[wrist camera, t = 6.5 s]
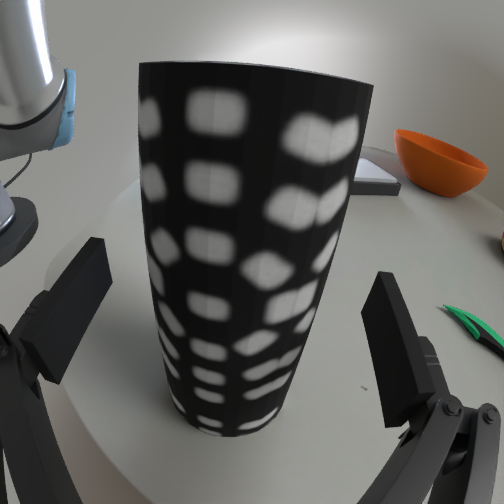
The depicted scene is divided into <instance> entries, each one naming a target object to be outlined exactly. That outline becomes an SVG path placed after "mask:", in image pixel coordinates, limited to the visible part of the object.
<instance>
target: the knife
mask: <svg viewBox="0 0 504 504" xmlns="http://www.w3.org/2000/svg"><path fill="white" fill-rule="evenodd" d="M443 306H445V307H446V308H447V309H448V310H449V311H450V312H452V313H453V314H455V315H456V316H457V317H458V318H459V319H460V320H461V321H462V322H463V323H464V325H465V326H466V327H467V328H468V329H469V331H470V332H471V333H472V334H473V335H474V337H475V338H476V340H477V341H480V342H482V343H483V344H485V345H487V346H488V347H490V348H491V349H493V350H494V351H495V352H497V353H498V354H499V355H501V356H502V357H503V358H504V340H503V339H502V338H501V337H500V336H499V335H498V334H497V333H496V332H495V331H494V330H493V329H492V328H491V327H489V326H488V325H487V324H486V323H485V322H483V321H482V320H480V319H479V318H477V317H475V316H474V315H472V314H470V313H468V312H465V311H463V310H460V309H458V308H455V307H451V306H447V305H443Z"/></svg>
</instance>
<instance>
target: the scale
mask: <svg viewBox="0 0 504 504" xmlns="http://www.w3.org/2000/svg"><path fill="white" fill-rule="evenodd" d="M400 187H401V184H400V183H398V182H397V179H396V178H394V177H393V176H391V175H390V174H388V173H387V172H385V171H384V170H382V169H381V168H379V167H378V166H376V165H375V164H373V163H371V162H370V161H368V160H367V159H360V158H359V161H358V165H357V169H356V174H355V178H354V182H353V186H352V190H351V194H350V195H398V194H399V191H400Z"/></svg>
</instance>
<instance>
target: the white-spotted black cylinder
mask: <svg viewBox="0 0 504 504" xmlns="http://www.w3.org/2000/svg"><path fill="white" fill-rule="evenodd" d="M373 87H374V86H373V85H371V84H367V83H363V82H360V81H356V80H352V79H347V78H343V77H338V76H333V75H329V74H323V73H318V72H312V71H306V70H300V69H294V68H287V67H279V66H270V65H262V64H251V63H238V62H220V61H162V62H161V61H160V62H144V63H139V86H138V88H139V89H138V138H139V166H140V185H141V200H142V213H143V224H144V235H145V244H146V253H147V262H148V270H149V277H150V285H151V292H152V298H153V305H154V311H155V317H156V323H157V329H158V335H159V340H160V345H161V351H162V356H163V361H164V366H165V370H166V375H167V380H168V384H169V389H170V393H171V397H172V400H173V403H174V405H175V407H176V409H177V410H178V412H179V413H180V415H181V416H182V417H183V418H184V419H185V420H186V421H187V422H188V423H190V424H191V425H193V426H194V427H196V428H197V429H199V430H201V431H204V432H206V433H209V434H212V435H217V436H222V437H237V436H243V435H248V434H250V433H253V432H256V431H258V430H260V429H261V428H263V427H265V426H266V425H268V424H269V423H270V422H271V421H272V420H273V419H274V418H275V417H276V415H277V414H278V412H279V411H280V409H281V407H282V405H283V402H284V400H285V397H286V394H287V392H288V389H289V387H290V384H291V382H292V379H293V376H294V374H295V371H296V368H297V365H298V363H299V360H300V357H301V355H302V352H303V349H304V346H305V343H306V340H307V338H308V335H309V332H310V329H311V326H312V323H313V320H314V317H315V314H316V311H317V308H318V305H319V302H320V299H321V296H322V293H323V289H324V286H325V283H326V280H327V276H328V273H329V270H330V267H331V263H332V260H333V256H334V253H335V250H336V246H337V243H338V239H339V235H340V232H341V228H342V225H343V221H344V217H345V213H346V210H347V206H348V202H349V198H350V194H351V190H352V186H353V182H354V178H355V174H356V169H357V165H358V161H359V156H360V152H361V147H362V143H363V138H364V133H365V128H366V123H367V119H368V114H369V108H370V103H371V97H372V92H373Z"/></svg>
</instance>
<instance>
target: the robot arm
mask: <svg viewBox="0 0 504 504" xmlns="http://www.w3.org/2000/svg"><path fill="white" fill-rule="evenodd" d="M75 85H76V73H75V71H74V70H71V69H63V66H62V64H61V62H60V61H59V60H58V59H57V58H56V57H54V56H53V55H51V54H50V52H49V44H48V35H47V26H46V15H45V0H0V161H2V160H6V159H10V158H14V157H17V156H22V155H26V154H30V156H29V160H28V162H27V164H26V165H25V166H24V167H23V168H22V170H20V172H18V173H17V174H16V175H15V176H14V177H13V178H12V179H11V180H10V181H9V182H7V183H6V184H5V185H4V186H3V185H2V183H1V181H0V236H1V235H3V234H4V233H5V232H6V231H7V230H8V229H9V228H10V227H11V225H12V224H13V222H14V220H15V218H16V211H15V207H14V204H13V202H12V200H11V198H10V197H9V195H8V193H7V192H6V190H5V188H6V187H7V186H8V185H9V184H11V183H12V182H13V181H14V180H15V179H16V178H17V177H18V176H19V175H20V174H21V173H22V172H23V171H24V170H25V169H26V168H27V166H28V165H29V163H30V161H31V158H32V153H34V152H38V151H43V150H52V149H54V148H56V147H60V146H64V145H66V144H68V143H69V142H70V141H71V139H72V137H73V130H74V105H75ZM112 283H113V281H112V277H111V272H110V268H109V263H108V258H107V253H106V248H105V242H104V239H103V238H95V237H90V239H89V240H88V241H87V242H86V243H85V245H84V246H83V247H82V248H81V250H80V251H79V252H78V253H77V255H76V256H75V257H74V259H73V260H72V261H71V262H70V264H69V265H68V266H67V268H66V269H65V270H64V272H63V273H62V274H61V276H60V277H59V278H58V280H57V281H56V282H55V284H54V285H53V286H52V288H51V289H50V291H46V290H43V291H42V292H41V293H39V294H38V295H37V296H36V297H35V298H34V299H33V301H32V302H31V303H30V305H29V307H28V308H27V309H26V311H25V313H24V314H23V315H22V316H21V318H20V319H19V321H18V323H17V324H16V325H15V327H14V328H13V330H12V332H11V333H10V335H9V334H8V332H7V330H6V329H5V327H4V326H3V325H2V324H0V504H8V500H7V493H6V484H5V476H4V475H5V474H4V462H3V449H4V453H5V457H6V461H7V464H8V468H9V471H10V475H11V478H12V481H13V484H14V487H15V490H16V493H17V496H18V499H19V501H20V504H83V503H82V501H81V499H80V497H79V494H78V492H77V490H76V488H75V486H74V484H73V481H72V479H71V477H70V474H69V472H68V470H67V467H66V465H65V462H64V460H63V457H62V455H61V452H60V449H59V446H58V444H57V441H56V438H55V435H54V432H53V429H52V426H51V423H50V420H49V416H48V413H47V409H46V406H45V402H44V399H43V395H42V392H41V387H40V383H39V381H38V379H37V376H38V374H39V372H40V373H41V374H42V376H43V377H44V379H45V380H47V381H50V382H53V383H56V384H58V385H59V384H60V382H61V380H62V378H63V375H64V373H65V371H66V369H67V367H68V365H69V363H70V361H71V359H72V357H73V355H74V353H75V351H76V349H77V347H78V345H79V343H80V341H81V339H82V337H83V335H84V333H85V331H86V329H87V328H88V326H89V324H90V322H91V320H92V318H93V316H94V315H95V313H96V311H97V309H98V307H99V305H100V304H101V302H102V300H103V298H104V297H105V295H106V293H107V291H108V290H109V288H110V286H111V284H112ZM361 315H362V319H363V323H364V327H365V331H366V335H367V340H368V344H369V348H370V353H371V357H372V362H373V366H374V371H375V376H376V380H377V385H378V390H379V396H380V401H381V406H382V412H383V417H384V423H385V428H390V427H401V426H402V425H403V424H405V423H406V422H407V421H408V420H409V425H410V427H409V428H408V429H407V430H406V431H405V432H403V433H402V434H401V435H400V436H399V437H398V438H399V439H401V438H402V439H401V441H400V442H399V444H398V446H397V447H396V449H395V450H394V452H393V454H392V455H391V457H390V458H389V460H388V461H387V463H386V464H385V466H384V467H383V469H382V470H381V472H380V473H379V475H378V476H377V477H376V479H375V480H374V482H373V483H372V484H371V486H370V487H369V489H368V490H367V491H366V493H365V494H364V495H363V496H362V498H361V499H360V500H359V502H358V503H357V504H422V502H423V501H424V499H425V497H426V495H427V494H428V492H429V490H430V488H431V486H432V484H433V487H432V490H431V494H430V497H429V500H428V504H491V499H492V494H493V488H494V482H495V476H496V469H497V461H498V451H499V440H500V424H501V419H500V414H499V411H498V410H497V408H496V407H495V406H494V405H492V404H489V403H486V404H483V405H482V406H481V407H479V408H478V409H473V408H469V407H464V406H463V405H462V403H461V402H460V400H459V399H458V398H457V397H455V396H453V395H450V392H449V390H448V386H447V383H446V380H445V377H444V374H443V371H442V369H441V366H440V365H439V364H440V363H439V360H438V357H436V356H437V355H436V352H435V349H434V347H433V345H432V343H431V342H430V341H429V340H428V338H427V337H424V336H418V335H417V332H416V330H415V327H414V324H413V322H412V319H411V317H410V314H409V311H408V309H407V306H406V304H405V301H404V299H403V297H402V294H401V292H400V289H399V287H398V285H397V282H396V280H395V278H394V275H393V273H390V272H381V271H378V274H377V276H376V279H375V281H374V283H373V286H372V288H371V291H370V293H369V295H368V298H367V300H366V302H365V304H364V307H363V309H362V311H361Z"/></svg>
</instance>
